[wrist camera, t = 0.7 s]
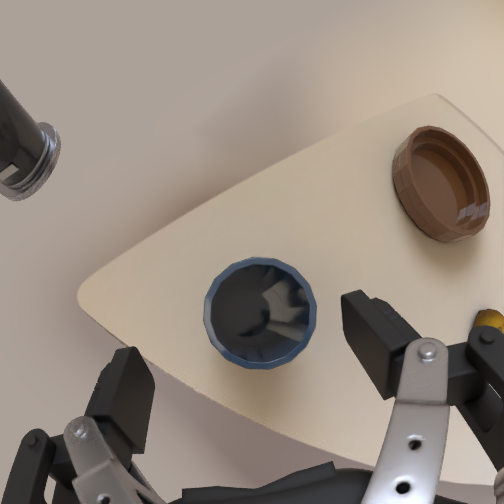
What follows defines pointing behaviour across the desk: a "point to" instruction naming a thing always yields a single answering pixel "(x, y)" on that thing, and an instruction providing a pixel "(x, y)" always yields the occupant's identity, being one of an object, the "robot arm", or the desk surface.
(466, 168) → the bowl
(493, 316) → the fruit
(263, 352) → the cup
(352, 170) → the desk surface
